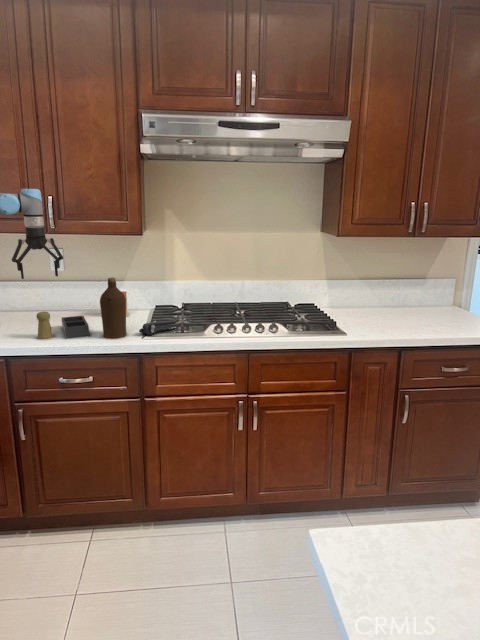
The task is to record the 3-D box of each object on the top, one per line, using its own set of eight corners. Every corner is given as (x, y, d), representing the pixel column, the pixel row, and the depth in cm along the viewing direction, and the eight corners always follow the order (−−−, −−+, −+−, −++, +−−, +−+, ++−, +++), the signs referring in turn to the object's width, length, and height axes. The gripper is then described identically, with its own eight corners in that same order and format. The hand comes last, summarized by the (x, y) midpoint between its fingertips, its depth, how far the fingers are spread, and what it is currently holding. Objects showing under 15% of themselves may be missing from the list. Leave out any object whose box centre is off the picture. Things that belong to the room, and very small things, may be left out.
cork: (56, 336, 197) (53, 311, 194) (44, 340, 192) (41, 314, 189) (46, 334, 200) (44, 309, 197) (34, 338, 195) (31, 312, 192)
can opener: (145, 337, 197) (145, 325, 195) (137, 334, 202) (137, 321, 200) (180, 330, 208) (180, 318, 207) (172, 326, 213) (171, 315, 212)
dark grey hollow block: (65, 338, 194) (64, 327, 193) (62, 327, 210) (61, 317, 209) (89, 336, 198) (88, 325, 197) (84, 325, 214) (83, 315, 212)
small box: (110, 317, 228) (109, 291, 224) (111, 314, 234) (109, 288, 230) (127, 316, 230) (126, 291, 226) (127, 313, 236) (126, 288, 232)
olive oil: (130, 337, 197) (127, 279, 191) (105, 340, 193) (101, 281, 186) (124, 331, 206) (121, 275, 200) (99, 333, 202) (96, 277, 195)
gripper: (2, 228, 185) (8, 280, 191) (67, 226, 197) (71, 276, 203) (1, 227, 192) (7, 277, 197) (64, 225, 203) (68, 273, 209)
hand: (39, 277), depth 200 cm, fingers open, 13 cm apart
